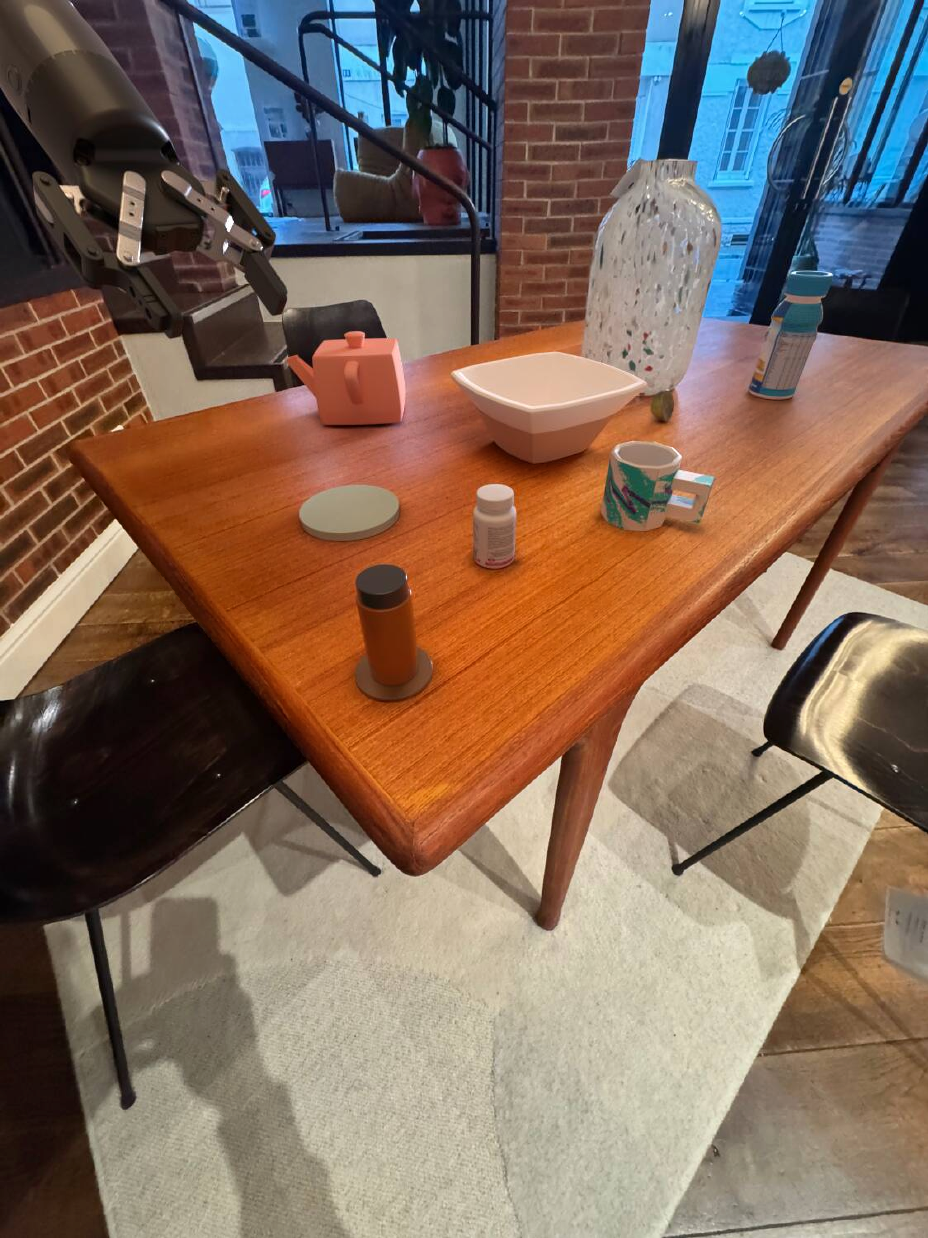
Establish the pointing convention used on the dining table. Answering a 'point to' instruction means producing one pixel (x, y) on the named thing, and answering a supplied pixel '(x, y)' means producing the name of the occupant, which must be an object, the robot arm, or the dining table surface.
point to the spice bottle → (387, 623)
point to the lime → (662, 405)
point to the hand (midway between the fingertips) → (232, 318)
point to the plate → (349, 512)
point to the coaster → (398, 691)
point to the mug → (651, 487)
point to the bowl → (546, 401)
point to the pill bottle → (494, 526)
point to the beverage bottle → (790, 336)
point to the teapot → (355, 380)
